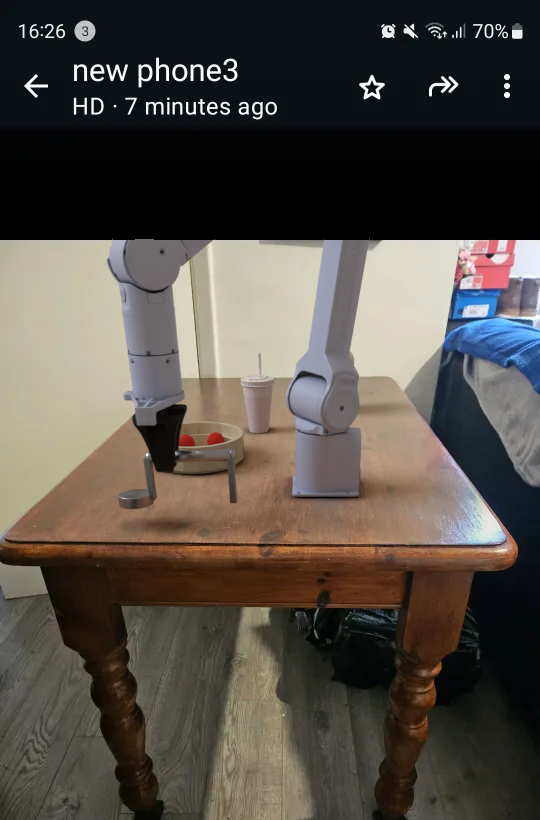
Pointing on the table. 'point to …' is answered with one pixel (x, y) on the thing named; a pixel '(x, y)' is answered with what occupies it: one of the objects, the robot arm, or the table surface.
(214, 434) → the tomato
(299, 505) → the table surface
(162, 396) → the robot arm
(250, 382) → the smoothie
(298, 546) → the table surface
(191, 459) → the bent metal rod stand
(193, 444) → the tomato
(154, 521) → the table surface
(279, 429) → the table surface
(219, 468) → the bowl
